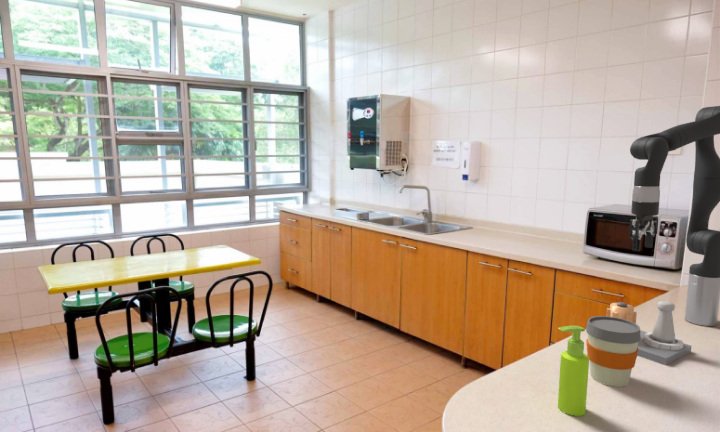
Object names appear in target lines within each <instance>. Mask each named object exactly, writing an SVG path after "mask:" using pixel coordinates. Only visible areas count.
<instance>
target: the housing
mask: <svg viewBox="0 0 720 432" xmlns="http://www.w3.org/2000/svg"><path fill="white" fill-rule="evenodd" d="M634 310H635V307H634V306H633V305H631V304H629V303H626V302H622V301H617V302H612V303H610V305H609V308H608V307H607V308H606V316H608V317H616V318H621V319H625V320H628V321H631V322H633V323H635V324H637V317H638V316H637V313H638V312H637V311H634ZM640 337H641V339H640V341H639V342H638V346H637V348H638V354H637V357H638V356H639V357H641V358H644V359H646V360H650V361H653V362H656V363H658V364H661V365H664V366H667V365H668V364H671V363H673V362H675V361H676V360H678V359H680V358H682V357H684V356H685V355H688V354H690V353H691V352H692V345H690V344H687V343H684V342H683V341H684V340H682V339H681V338H679V337H677V336H675V339H674V341H673V342H672V344H667V343H660V342H657V341H655V340H654V338H653V336H652V332H648V331H645V330H644V331H643V330H642V329H640Z"/></svg>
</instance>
